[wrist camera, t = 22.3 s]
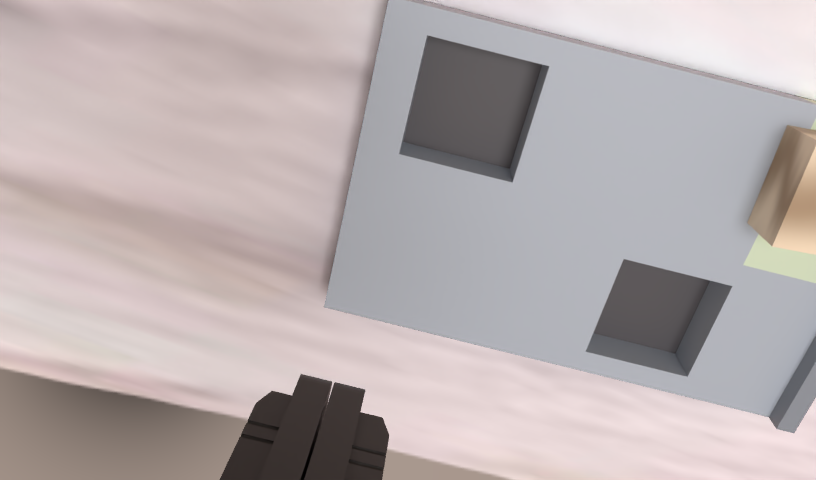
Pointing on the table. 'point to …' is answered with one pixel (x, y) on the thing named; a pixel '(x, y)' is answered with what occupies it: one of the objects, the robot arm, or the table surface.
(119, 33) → the table surface
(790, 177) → the beech block
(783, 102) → the board
